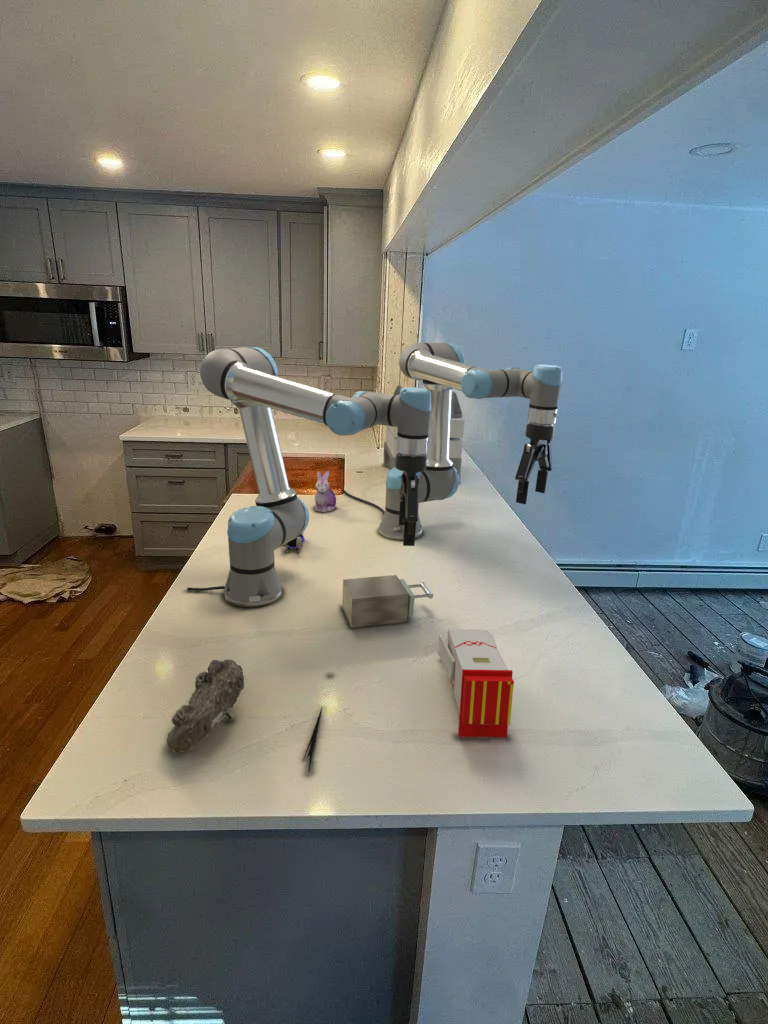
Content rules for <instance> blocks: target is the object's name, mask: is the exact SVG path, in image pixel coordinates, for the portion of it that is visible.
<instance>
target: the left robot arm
mask: <svg viewBox="0 0 768 1024" xmlns="http://www.w3.org/2000/svg"><path fill="white" fill-rule="evenodd" d="M278 375H279V373H278V366H277V363H276V361H275V359H274V358H273V356H272V355H271V354H270V353H269V352H267V351H266V350H265V349H263V348H261V347H255V346H243V347H242V346H241V347H230V348H218V349H215V350H212V351H210V352H208V354H207V355H205V357H204V358H203V360H202V362H201V364H200V368H199V376H200V380H201V382H202V384H203V386H204V387H205V389H206V390H207V391H208V392H209V393H211V394H212V395H215V396H216V397H219V398H222V399H225V400H228V401H230V402H231V404H232V405H234V406H235V407H237V408H238V411H239V416H240V420H241V423H242V428H243V432H244V436H245V440H246V446H247V449H248V453H249V458H250V461H251V466H252V470H253V475H254V479H255V483H256V486H257V492H258V495H257V497H256V498H255V500H254V503H255V505H251V506H249V507H243V508H239V509H237V510H236V511H234V512H233V513H232V514H231V515H230V516H229V517H228V520H227V529H226V530H227V531H226V533H227V542H228V543H227V544H228V557H229V572H228V574H227V578H226V581H225V585H221V586H220V585H219V586H211V587H209V586H208V587H186V590H187V591H190V592H191V591H192V592H208V591H215V590H216V591H218V590H223V594H224V599H225V600H226V602H228V603H229V604H231V605H233V606H237V607H241V608H242V607H243V608H257V607H264V606H266V605H270V604H272V603H274V602H276V601H278V600H279V599H280V597H282V595H283V586H282V582H281V580H280V577H279V574H278V571H277V569H276V566H275V564H276V563H275V551H276V550H277V549H279V548H281V547H282V546H283V545H284V544H286V543H288V542H289V541H291V540H294V539H296V538H297V537H298V536H299V535H300V534H302V533H303V532H304V533H305V531H306V529H307V528H308V526H309V523H310V513H309V509H308V507H307V505H306V503H305V502H303V501H302V499H301V498H299V497H298V495H297V491H295V489H293V488H291V487H290V485H289V480H288V476H287V470H286V466H285V462H284V458H283V452H282V448H281V445H280V440H279V434H278V430H277V427H276V422H275V417H274V413H273V410H275V411H279V412H282V413H285V414H288V415H291V416H295V417H297V418H301V419H303V420H306V421H310V422H314V423H317V424H319V425H323V426H326V427H327V428H328V429H329V430H330V431H331V432H332V433H334V435H337V436H340V437H341V436H342V437H345V436H352V435H355V434H357V433H359V432H361V431H364V430H366V429H369V428H372V427H375V426H392V427H397V428H398V432H397V444H396V451H397V452H398V453H397V454H396V465H395V466H396V468H397V469H398V470H400V471H403V473H402V476H401V489H400V500H402V501H400V511H399V525H404V537H403V540H402V546H403V547H415V542H416V538H415V531H416V522H417V521H418V518H417V517H418V514H419V508H418V484H419V478H418V475H416V473H418V472H423V471H424V470H425V469H426V464H427V456H426V453H427V449H428V446H427V444H430V440H428V436H429V425H430V414H431V393H430V391H429V390H427V389H426V388H425V387H412V386H407V387H402V389H401V390H400V394H399V395H393V394H390V393H383V392H375V391H372V390H367V391H362V390H359V391H356V392H355V393H354V394H353V395H352V397H348V396H345V395H342V394H338V393H336V392H333V391H328V390H325V389H322V388H318V387H314V386H312V385H309V384H308V385H307V384H305V383H300V382H298V381H295V380H290V379H288V378H284V377H280V376H278ZM410 516H414V517H410Z"/></svg>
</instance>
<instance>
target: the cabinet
mask: <svg viewBox="0 0 768 1024" xmlns="http://www.w3.org/2000/svg"><path fill="white" fill-rule="evenodd" d="M399 579H400V578H399V577H398V575H397V574H393V575H392V574H391V575H380V576H370V577H358V578H346V579H342V603H341V604H342V605H341V606H342V609H343V612H344V614H345V617H346V619H347V621H348V623H349V626H350V628H352V629H353V628H362V627H370V626H379V625H380V626H381V625H389V624H398V623H408V615H407V612H408V597H409V593H408V592H407V590H406V589H405V587H404V586H403V584H402V583H401V581H400V580H399Z"/></svg>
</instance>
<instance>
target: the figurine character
mask: <svg viewBox="0 0 768 1024" xmlns="http://www.w3.org/2000/svg"><path fill="white" fill-rule="evenodd" d="M304 535H305V531H304V532H303V533H302V534H300V535H299V536H298V537H297V538H296V539H294V540H291V541H289V542H288V543H286V544H284V545H283V546H281V547H282V548H286V552H287V553H288V552H290V549H291V548H292V549H295V553H298V551H299V548H300V549H301V547H302V546H303V545H302V544H303V543H304V542H305V541H306V540H305V538H304Z"/></svg>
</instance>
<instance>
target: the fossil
mask: <svg viewBox="0 0 768 1024" xmlns="http://www.w3.org/2000/svg"><path fill="white" fill-rule="evenodd" d="M243 670H244V669H243V667H242V665H240V664H237V662H236V661H235V660H234V659H232V658H231V659H227V658H226V659H224V660H223V661H222V660H217V659H212V660H211V661H210V663H209V665H208V666H207V671H201V672H199V673H198V674H197V675H196V676H195V680H194V684H195V685H194V687H195V689H194V690H193V693H192V694H191V697H190V698H189V700H188V704H184V705H182V706H181V707H180V709H177V710H176V711H175V713H174V715H173V716H172V718H171V723H172V724H173V727H172V730H171V731H170V732H168V734H167V738H166V741H167V742H166V745H167V749H168V750H169V751H173V752H174V753H176V754H178V753H182V752H188V751H189V752H192V751H193V750H195V748H196V747H197V746H199V744H200V743H201V742H203V741H204V740H205V739H206V738H207V737H208V736H209V735H210V734H211V733H212V732H214V730H215V729H217V727H218V726H219V724H220V722H221V721H222V720H223V719H224V718H225V716H226V717H227V719H229V720H233V717H232V715H230V714H229V710H230V709H231V708H234V706H235V704H236V703H237V702H238V699H239V697H240V695H241V693H242V691H243V690H245V689H244V688H245V675H244V671H243Z"/></svg>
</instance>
